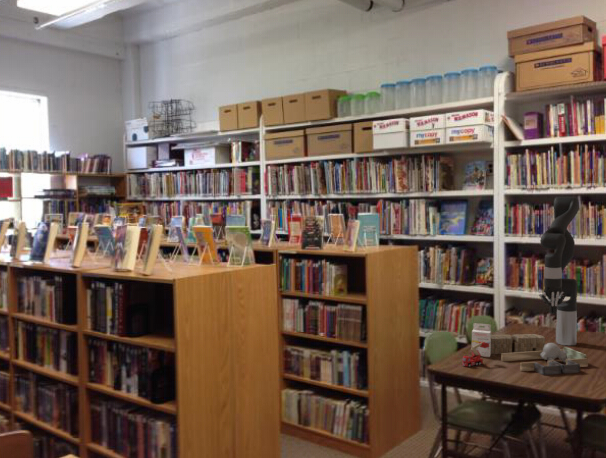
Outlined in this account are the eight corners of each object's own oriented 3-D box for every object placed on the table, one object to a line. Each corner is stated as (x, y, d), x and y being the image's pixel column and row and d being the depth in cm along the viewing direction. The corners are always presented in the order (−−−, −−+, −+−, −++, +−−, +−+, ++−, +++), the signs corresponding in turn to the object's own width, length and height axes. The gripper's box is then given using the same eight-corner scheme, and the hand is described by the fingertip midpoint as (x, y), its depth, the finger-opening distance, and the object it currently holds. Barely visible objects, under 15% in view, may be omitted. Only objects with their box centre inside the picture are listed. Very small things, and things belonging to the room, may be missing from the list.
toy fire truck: (461, 365, 264) (461, 344, 264) (483, 361, 271) (483, 340, 270) (466, 367, 261) (466, 346, 261) (489, 363, 268) (489, 342, 267)
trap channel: (501, 360, 271) (501, 350, 271) (564, 356, 277) (564, 345, 276) (530, 376, 247) (530, 364, 247) (598, 370, 253) (598, 359, 253)
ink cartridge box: (471, 355, 281) (471, 325, 280) (472, 353, 285) (472, 322, 285) (490, 357, 278) (490, 326, 277) (491, 354, 282) (491, 324, 281)
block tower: (537, 350, 292) (479, 350, 291) (538, 333, 292) (480, 333, 291) (544, 354, 284) (485, 354, 283) (545, 337, 284) (485, 337, 283)
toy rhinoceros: (566, 370, 263) (574, 353, 262) (540, 359, 266) (547, 342, 265) (564, 365, 270) (572, 349, 269) (538, 354, 273) (546, 338, 272)
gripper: (561, 274, 276) (561, 311, 278) (535, 276, 274) (535, 313, 275) (571, 277, 269) (570, 314, 270) (544, 278, 266) (544, 316, 268)
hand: (552, 313), depth 273 cm, fingers closed
